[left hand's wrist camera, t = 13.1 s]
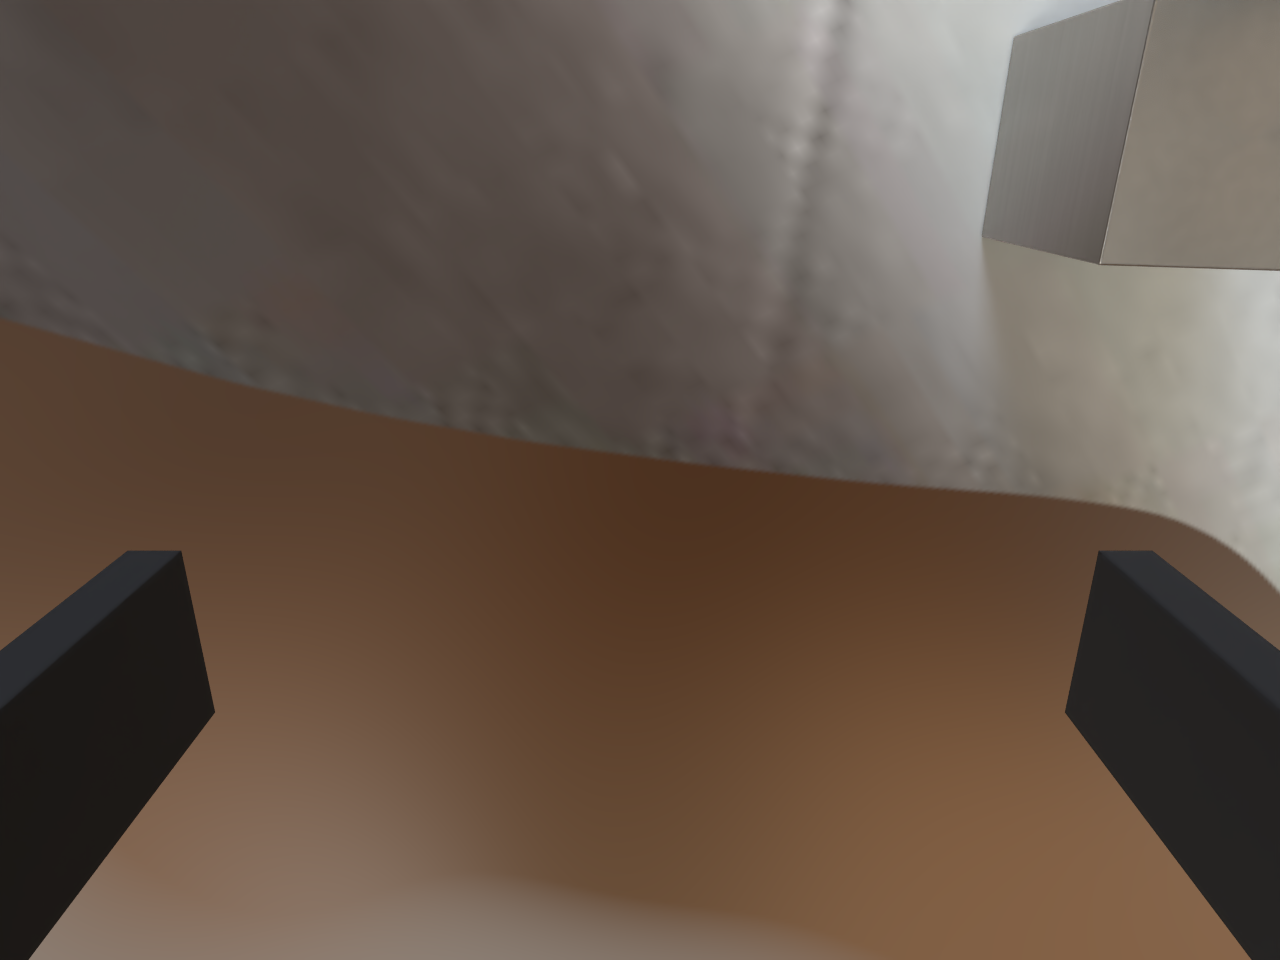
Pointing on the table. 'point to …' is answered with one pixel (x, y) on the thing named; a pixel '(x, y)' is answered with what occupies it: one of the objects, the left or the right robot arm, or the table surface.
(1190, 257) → the metal block
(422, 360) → the table surface
